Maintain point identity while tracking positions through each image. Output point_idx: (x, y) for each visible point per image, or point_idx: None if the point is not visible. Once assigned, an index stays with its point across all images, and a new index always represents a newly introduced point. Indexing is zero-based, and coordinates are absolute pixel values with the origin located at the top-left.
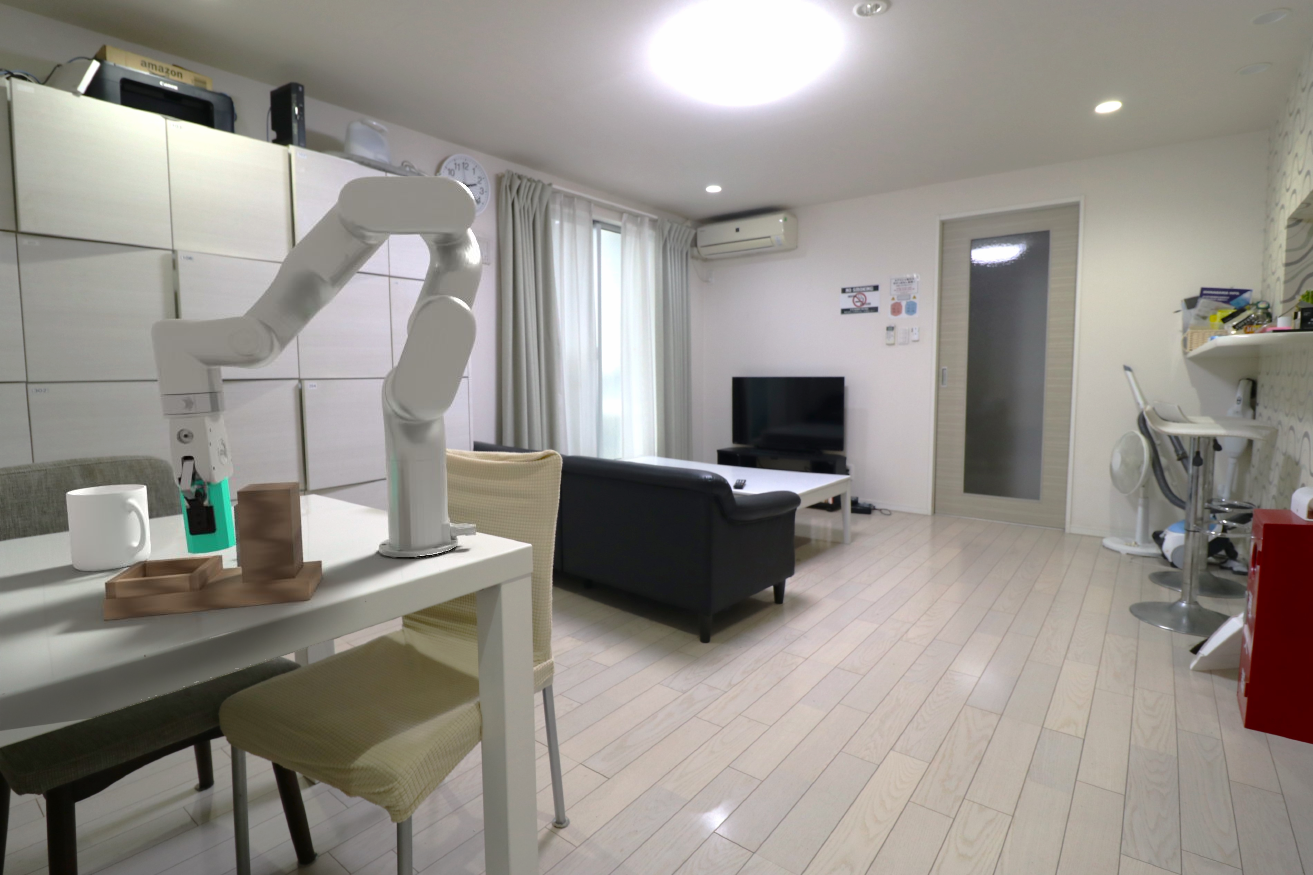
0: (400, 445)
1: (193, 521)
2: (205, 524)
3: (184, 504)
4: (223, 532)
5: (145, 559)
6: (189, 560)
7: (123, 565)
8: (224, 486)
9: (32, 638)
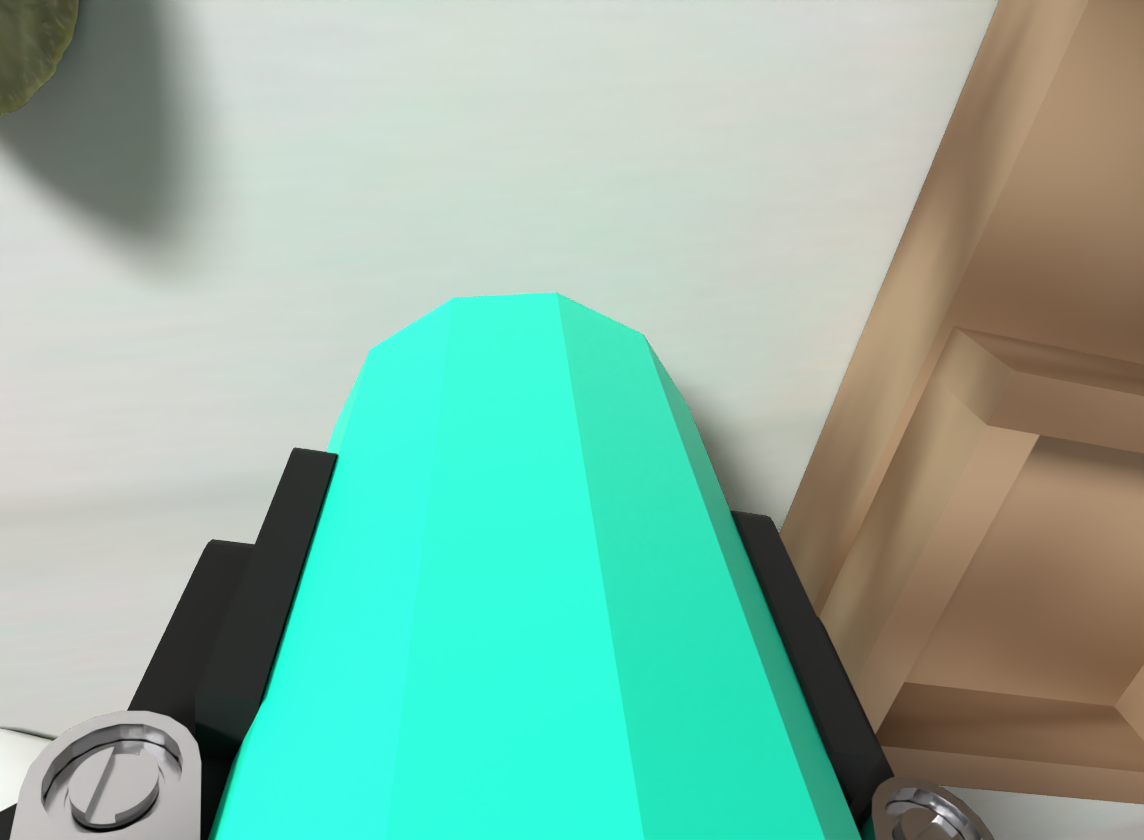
0: None
1: None
2: (828, 639)
3: None
4: (692, 443)
5: (7, 733)
6: (968, 548)
7: None
8: None
9: (1098, 800)
